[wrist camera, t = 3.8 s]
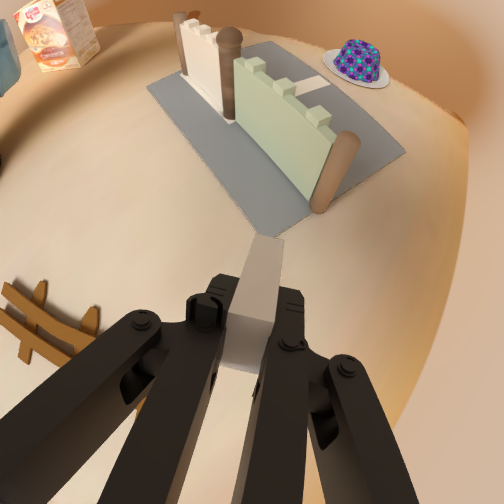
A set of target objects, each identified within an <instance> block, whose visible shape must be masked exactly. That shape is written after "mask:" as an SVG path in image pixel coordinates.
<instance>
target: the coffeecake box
mask: <svg viewBox="0 0 504 504" xmlns="http://www.w3.org/2000/svg"><path fill="white" fill-rule="evenodd" d="M13 16H14V17H15V19H16V21H17V24H18V25H19V28H20V30H21V32H22V34H23V36H24V38H25V40H26V42H27V44H28V46H29V47H30V49H31V51H32V53H33V55H34V57H35V59H36V60H37V62H38V64H39V66H40V68H41V69H42V71H43V73H44V72H51V71H57V70H65V69H73V68H82V67H83V66H84V65H85V64H86V63H87V62H88V61H89V60H90V59H91V58H92V57H93V56H94V55H96V54H97V53H98V52H99V51H100V50H101V48H100V45H99V43H98V40H97V38H96V35H95V32H94V29H93V27H92V24H91V22H90V18H89V16H88V13H87V10H86V7H85V4H84V1H83V0H33V1H31V2H30V3H28V4H27V5H25V6H24V7H23V8H21V9H20V10H18V11H17V12H16V13H15V14H14V15H13Z"/></svg>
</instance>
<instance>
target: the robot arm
mask: <svg viewBox="0 0 504 504" xmlns="http://www.w3.org/2000/svg"><path fill="white" fill-rule="evenodd" d="M20 75H21V65H20V60H19V57H18V53H17V49H16V46H15V43H14V40H13V37H12V34H11V31H10V28H9V26H8V24H7V22H6V21H5V19H1V20H0V97H3V96H4V93H6V92H7V91H8V90H9V89H10V88H11V87H12V86H13V85H14V84H15V83H16V82H17V81H18V80H19V78H20ZM0 164H1V155H0ZM283 247H284V240H282V239H278V238H273V237H269V236H264V235H260V234H256V235H255V238H254V240H253V243H252V246H251V249H250V252H249V254H248V257H247V260H246V263H245V266H244V268H243V271H242V274H241V277H240V278H237V277H233V276H229V275H225V274H218V275H217V276H215V277H214V278H212V280H211V282H210V284H209V286H208V288H207V290H206V292H205V293H199V294H195V295H193V296H190V297H189V298H188V299H187V301H186V320H185V321H182V322H176V323H169V322H161V320H160V318H159V316H158V315H157V314H155V313H154V312H152V311H149V310H141V309H140V310H135V311H132V312H130V313H128V314H126V315H125V316H124V317H123V318H121V319H120V320H119V321H118V322H116V323H115V324H114V325H113V326H111V327H110V328H109V329H108V330H106V331H105V332H104V333H103V334H101V335H100V336H99V337H98V338H96V339H95V340H94V341H93V342H91V343H90V344H89V345H88V346H86V347H85V348H84V349H83V350H82V351H80V352H79V353H78V354H77V355H75V356H74V357H73V358H72V359H71V360H69V361H68V362H67V363H66V364H64V365H63V366H62V367H61V368H60V369H58V370H57V371H56V372H55V373H54V374H52V375H51V376H50V377H49V378H48V379H47V380H45V381H44V382H43V383H42V384H41V385H39V386H38V387H37V388H36V389H35V390H34V391H32V392H31V393H30V394H29V395H28V396H27V397H25V398H24V399H23V400H22V401H21V402H20V403H18V404H17V405H16V406H15V407H14V408H13V409H12V410H10V411H9V412H8V413H7V414H6V415H5V416H4V417H3V418H1V419H0V504H47V503H48V502H49V501H50V500H51V499H52V497H53V496H54V495H55V494H56V493H57V492H58V491H59V490H60V489H61V488H62V487H63V486H64V485H65V484H66V483H67V482H68V481H69V480H70V479H71V477H72V476H73V475H74V474H75V473H76V472H77V471H78V470H79V469H80V468H81V467H82V466H83V465H84V464H85V462H86V461H87V460H88V459H89V458H90V457H91V456H92V455H93V454H94V453H95V452H96V451H97V450H98V448H99V447H100V446H101V445H102V444H103V443H104V442H105V441H106V440H107V439H108V438H109V436H110V435H111V434H112V433H113V432H114V431H115V430H116V429H117V428H118V427H119V425H120V424H121V423H122V422H123V421H124V420H125V419H126V418H127V417H128V416H129V414H130V413H131V412H132V411H133V410H134V409H135V408H136V407H137V406H138V404H139V403H140V402H141V401H142V400H143V399H144V398H145V397H146V396H147V397H146V399H145V401H144V403H143V405H142V407H141V409H140V412H139V414H138V416H137V418H136V420H135V422H134V424H133V426H132V428H131V430H130V432H129V435H128V437H127V439H126V441H125V443H124V445H123V447H122V449H121V452H120V454H119V456H118V458H117V460H116V462H115V465H114V467H113V469H112V471H111V473H110V476H109V478H108V480H107V482H106V485H105V487H104V489H103V491H102V494H101V496H100V498H99V500H98V502H97V504H177V502H178V499H179V496H180V493H181V490H182V487H183V483H184V480H185V477H186V474H187V471H188V468H189V464H190V461H191V458H192V455H193V452H194V448H195V445H196V442H197V439H198V436H199V432H200V429H201V426H202V423H203V420H204V417H205V413H206V410H207V407H208V404H209V400H210V397H211V394H212V391H213V388H214V384H215V381H216V378H217V373H218V367H219V364H220V366H224V367H228V368H232V369H236V370H240V371H245V372H249V373H254V374H259V376H258V379H257V382H256V386H255V389H254V392H253V395H252V397H253V401H252V407H251V412H250V417H249V422H248V427H247V432H246V437H245V442H244V446H243V451H242V456H241V461H240V466H239V470H238V475H237V479H236V484H235V488H234V493H233V497H232V502H231V504H302V500H303V489H304V477H305V463H306V447H307V426H308V430H309V434H310V438H311V442H312V446H313V451H314V455H315V459H316V463H317V468H318V472H319V476H320V480H321V485H322V489H323V493H324V498H325V502H326V504H419V502H418V499H417V496H416V493H415V490H414V487H413V485H412V482H411V479H410V476H409V473H408V471H407V468H406V465H405V463H404V460H403V458H402V455H401V453H400V450H399V447H398V445H397V442H396V440H395V437H394V435H393V432H392V430H391V428H390V425H389V423H388V420H387V418H386V416H385V413H384V411H383V409H382V406H381V404H380V402H379V399H378V397H377V395H376V392H375V390H374V388H373V386H372V383H371V381H370V379H369V377H368V375H367V372H366V370H365V368H364V366H363V365H362V363H361V362H360V361H359V360H357V359H356V358H355V357H352V356H350V355H345V354H340V355H335V356H334V357H332V358H331V359H330V360H329V359H327V358H324V357H322V356H320V355H318V354H316V353H314V352H313V351H312V350H311V349H310V348H309V346H308V342H307V341H306V340H305V337H304V297H303V295H302V294H301V292H300V290H295V289H290V288H286V287H281V286H279V282H280V274H281V265H282V256H283ZM147 394H148V395H147Z"/></svg>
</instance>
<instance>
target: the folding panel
mask: <svg viewBox="0 0 504 504" xmlns="http://www.w3.org/2000/svg"><path fill="white" fill-rule="evenodd" d="M265 72H266V62H265V61H263V60H262V59H260V58H259V57H254V58H250V59H247V60H246V59H245V58H243V57H240V58H237V59H234V91H235V119H236V122H237V123H238V124H239V125H240V126H241V127H242V128H243V129H244V130H245V131H246V132H247V133H248V134H249V135H250V136H251V137H252V138H253V139H254V141H255V142H256V143H257V144H258V145H259V146H260V147H261V148H262V149H263V150H264V151H265V152H266V154H267V155H268V156H269V157H270V158H271V159H272V160H273V161H274V162H275V163H276V165H277V166H278V167H279V168H280V169H281V170H282V171H283V173H284V174H285V175H286V176H287V177H288V178H289V179H290V181H291V182H292V183H293V184H294V185H295V186H296V187H297V189H298V190H299V191H300V192H301V193H302V195H303V196H304V197H305V198H306V199H307V200H308V202H309V201H310V203H309V208H310V210H311V211H312V212H314V213H316V214H322V213H324V212H325V210H326V209H327V207H328V205H329V203H330V202H331V200H332V198H333V196H334V194H335V192H336V191H337V189H338V187H339V185H340V183H341V181H342V180H343V178H344V176H345V174H346V172H347V170H348V168H349V167H350V165H351V163H352V161H353V159H354V157H355V155H356V153H357V151H358V150H359V148H360V146H361V141H360V139H359V137H358V136H357V135H356V134H354V133H353V132H350V131H340V132H339V133H338V135H336V134H335V133H334V132H333V131H332V130H331V129H330V128H329V127H328V126H329V123H330V120H331V117H332V115H331V114H330V113H329V112H328V111H326V110H325V109H324V108H323V107H322V106H321V105H318V106H315V107H313V108H310V109H308V108H307V107H306V106H304V105H303V104H302V103H301V102H300V101H299V100H297V99H296V98H295V92H296V86H297V85H295V84H294V83H293V82H292V81H290V80H289V79H288V78H286V77H285V78H282V79H279V80H276V81H274V80H273V79H272V78H270V77H269V76H268V75H266V74H265Z"/></svg>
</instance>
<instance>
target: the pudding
mask: <svg viewBox="0 0 504 504" xmlns="http://www.w3.org/2000/svg"><path fill="white" fill-rule="evenodd" d="M334 58H335V60H334ZM333 60H334V61H333ZM323 61H324V63H325V65H326V66H327V67H328V68H329V69H330V70H331V71H332V72H333V73H335V74H336V75H338V76H339V77H341V78H343V79H345V80H347V81H349V82H351V83H354V84H357V85H360V86H364V87H369V88H382V87H385V86H387V85H388V84H389V82H390V78H389V75H388V73H387V71H386V70H385V69H384V68H383V67H382V66H381V65H380V53H379V51H378V50H377V49H376V48H374V47H373V46H372V45H371V44H369V43H365V42H364V41H361V40H354V39H353V40H349V41H348V42H346V43H345V45H344V46H343V48H342V49H333V50H329V51H327V52H326V53H325V54H324V56H323ZM333 62H334V64H335V65H336V66H337V69H336V68H335V67H334V65H333ZM339 71H340V72H341V73H344V74H346V75H347V76H348V77H349V78H348V77H346V76H344V75H343V74H341V73H340V72H339ZM379 76H380V79H379V81H378V82H376V83H371V82H372V80H373V81H377V80H378V77H379ZM350 78H351V79H350ZM353 79H354V80H353ZM355 80H361V81H363V82H366V83H362V82H358V81H355Z"/></svg>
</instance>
